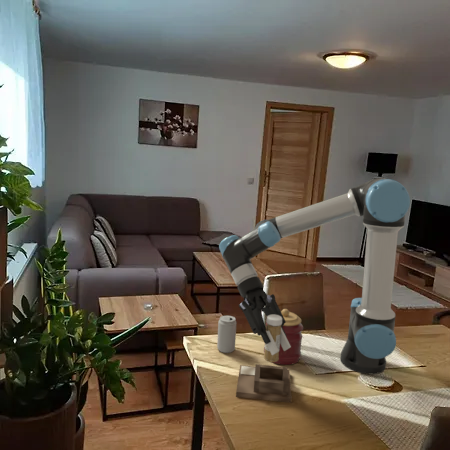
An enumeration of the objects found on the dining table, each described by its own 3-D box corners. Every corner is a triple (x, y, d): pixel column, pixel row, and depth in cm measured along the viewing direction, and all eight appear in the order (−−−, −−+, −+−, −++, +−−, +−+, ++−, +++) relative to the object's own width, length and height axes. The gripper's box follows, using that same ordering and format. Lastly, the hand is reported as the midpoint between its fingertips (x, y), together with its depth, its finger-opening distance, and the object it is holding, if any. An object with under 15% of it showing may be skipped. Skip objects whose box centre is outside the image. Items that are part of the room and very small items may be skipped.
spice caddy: (288, 374, 139) (290, 360, 138) (291, 402, 123) (292, 386, 122) (239, 369, 140) (240, 355, 140) (235, 396, 125) (236, 380, 124)
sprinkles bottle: (260, 359, 128) (263, 316, 126) (269, 354, 131) (272, 312, 129) (273, 364, 125) (276, 321, 123) (281, 359, 128) (285, 316, 126)
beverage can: (233, 355, 150) (234, 322, 148) (215, 352, 151) (216, 320, 149) (236, 347, 156) (238, 316, 154) (219, 344, 157) (220, 313, 155)
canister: (304, 366, 145) (309, 316, 142) (266, 365, 144) (270, 315, 141) (295, 348, 158) (299, 303, 155) (260, 347, 157) (264, 302, 154)
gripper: (261, 283, 142) (294, 348, 132) (220, 291, 131) (252, 363, 122) (273, 271, 137) (309, 339, 127) (232, 279, 126) (267, 353, 117)
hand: (281, 351), depth 125 cm, fingers closed on sprinkles bottle, 4 cm apart
